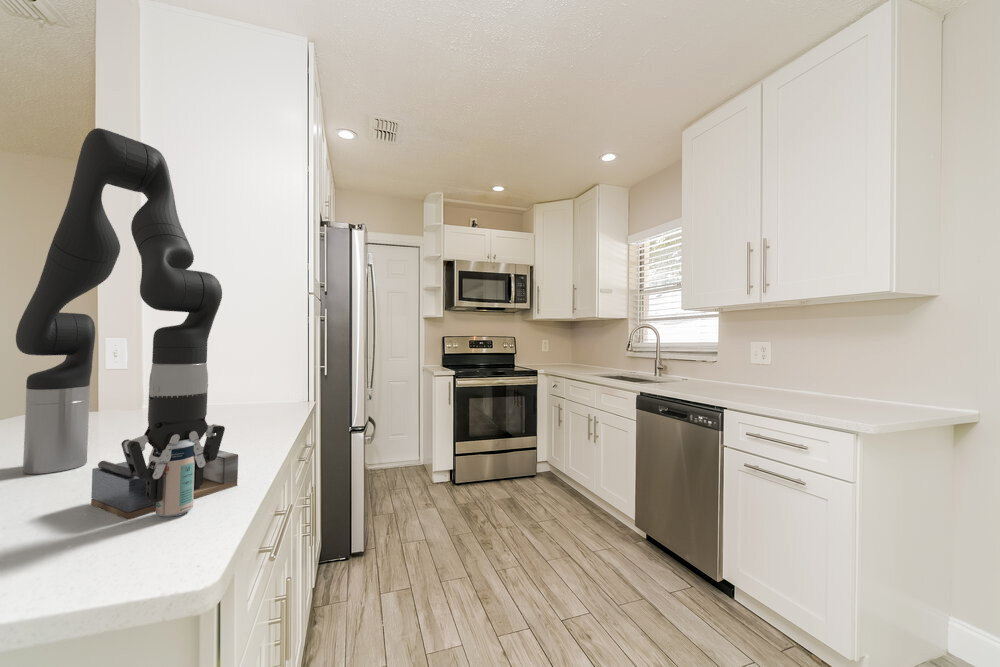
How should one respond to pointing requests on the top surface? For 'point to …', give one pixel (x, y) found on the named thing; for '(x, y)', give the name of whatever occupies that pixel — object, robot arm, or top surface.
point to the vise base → (214, 479)
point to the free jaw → (119, 487)
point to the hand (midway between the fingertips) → (175, 494)
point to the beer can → (178, 481)
